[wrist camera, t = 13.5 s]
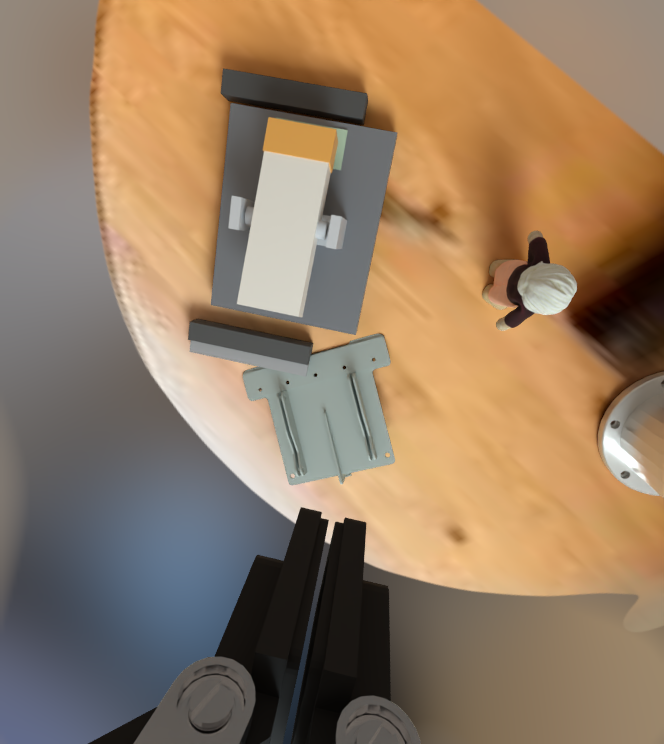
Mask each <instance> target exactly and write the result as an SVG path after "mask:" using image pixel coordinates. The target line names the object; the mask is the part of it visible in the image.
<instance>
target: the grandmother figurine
mask: <svg viewBox="0 0 664 744" xmlns="http://www.w3.org/2000/svg"><path fill="white" fill-rule="evenodd" d="M528 242H529V250H528V262H527V261H522V260H495V261H494V262H492V263H491V265H490V269H489V274H490V275H491V277H493V278H494V284H490V285H488V286H486V288H485V289H484V291H483V294H482V296H483V298H484V300H485V301H487V302H488V303H489V304H491V305H492V306H493V307H495V308H496V309H500V310H501V309H505V308H507V307H513V308H515V307H517V308H516V309H515V310H513V311H511V312H510V313H508V314H507V315H506V316H505V317H503V318H501V319H499V320H498V321H497V322H496V327H497V328H498V329H499V330H501V331H504V330H507V329H509V328H514V327H516V326H518V325H519V324H521V323H522V322H523V321H524V320H525V319H527V318H528V317H530V316H532V315H533V314H534V313H539V314H543V315H549V314H556V313H559V312H561V311H562V310H563V309H565V308H566V307H567V306H568V304H569V303H570V301H571V299H572V297H573V296H574V294H575V292H576V290H577V284H576V281H575V279H574V277H573V275H571V273H570V271H569V270H568V269H566V268H565V267H563V266H561V265H557V264H550V260H549V253H548V249H547V243H546V240H545V239H544V238H543V235H542V233H541V232H539V231H533V232H531V233H530V234H529V236H528Z"/></svg>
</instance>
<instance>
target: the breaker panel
mask: <svg viewBox="0 0 664 744" xmlns="http://www.w3.org/2000/svg"><path fill="white" fill-rule="evenodd" d="M268 117H271V118H276V119H282V120H287V121H293V122H299V123H304V124H310V125H315V126H321V127H326V128H332V129H336V130H337V137H338V146H337V151H336V156H335V161H334V167H333V172H332V173H331V174H330V179H329V185H328V190H327V195H326V200H325V205H324V210H323V215H322V221H328V232H327V236H326V239H325V240H322V239H318V240H317V246H316V251H315V256H314V261H313V266H312V271H311V276H310V281H309V286H308V291H307V296H306V302H305V307H304V312H303V317H297V316H292V315H287V314H282V313H278V312H273V311H268V310H263V309H258V308H253V307H249V306H244V305H239V304H237V300H238V294H239V289H240V283H241V278H242V272H243V266H244V261H245V255H246V250H247V244H248V239H249V233H250V227H251V226H250V225H246V223H245V212H246V209H247V207H248V206H250V207H254V205H255V200H256V194H257V188H258V183H259V177H260V172H261V166H262V160H263V155H264V152H263V145H264V140H265V134H266V128H267V123H268ZM396 139H397V133H396V132H391V131H385V130H380V129H374V128H368V127H363V126H357V125H352V124H346V123H340V122H335V121H329V120H324V119H318V118H312V117H307V116H301V115H296V114H290V113H284V112H279V111H273V110H268V109H262V108H256V107H251V106H245V105H240V104H234V103H231V106H230V116H229V126H228V136H227V146H226V157H225V167H224V177H223V187H222V197H221V207H220V217H219V228H218V238H217V248H216V258H215V268H214V278H213V288H212V299H211V305H214V306H219V307H223V308H228V309H233V310H238V311H243V312H248V313H252V314H257V315H262V316H267V317H272V318H276V319H281V320H286V321H291V322H296V323H301V324H305V325H310V326H315V327H320V328H325V329H330V330H334V331H339V332H344V333H349V334H354V335H356V332H357V328H358V323H359V318H360V313H361V308H362V304H363V299H364V294H365V289H366V284H367V279H368V275H369V270H370V265H371V260H372V255H373V250H374V246H375V241H376V236H377V231H378V226H379V221H380V217H381V212H382V207H383V202H384V197H385V192H386V188H387V183H388V178H389V173H390V168H391V163H392V159H393V154H394V149H395V144H396Z"/></svg>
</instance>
